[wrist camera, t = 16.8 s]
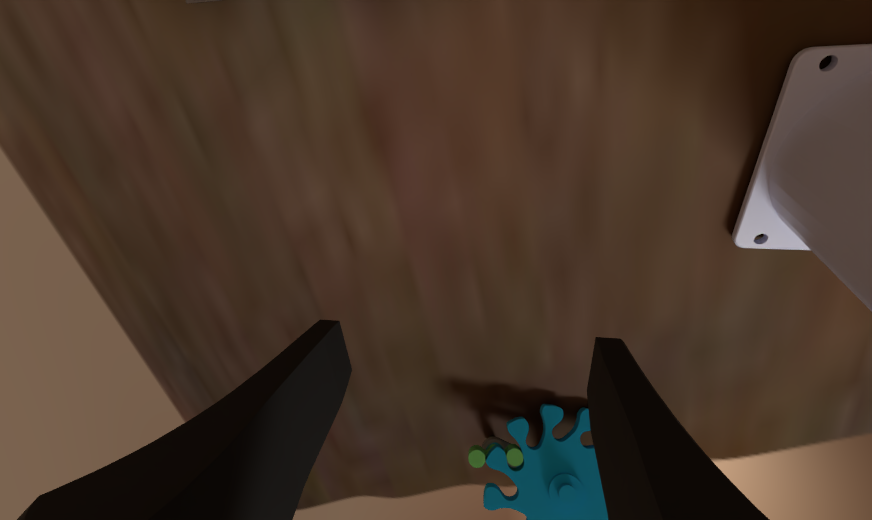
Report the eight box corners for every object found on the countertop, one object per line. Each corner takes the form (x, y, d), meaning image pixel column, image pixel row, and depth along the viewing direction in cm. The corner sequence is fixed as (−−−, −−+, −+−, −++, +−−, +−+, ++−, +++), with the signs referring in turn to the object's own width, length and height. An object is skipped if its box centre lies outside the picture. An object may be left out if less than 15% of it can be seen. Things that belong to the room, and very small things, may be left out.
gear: (678, 449, 25) (623, 625, 24) (639, 430, 31) (592, 570, 29) (502, 371, 27) (440, 531, 25) (496, 367, 33) (445, 497, 31)
